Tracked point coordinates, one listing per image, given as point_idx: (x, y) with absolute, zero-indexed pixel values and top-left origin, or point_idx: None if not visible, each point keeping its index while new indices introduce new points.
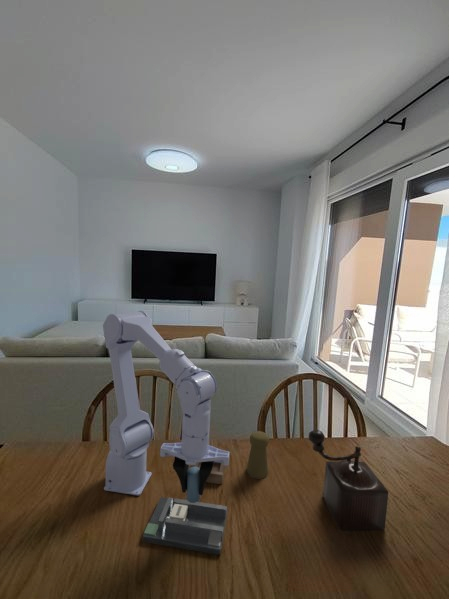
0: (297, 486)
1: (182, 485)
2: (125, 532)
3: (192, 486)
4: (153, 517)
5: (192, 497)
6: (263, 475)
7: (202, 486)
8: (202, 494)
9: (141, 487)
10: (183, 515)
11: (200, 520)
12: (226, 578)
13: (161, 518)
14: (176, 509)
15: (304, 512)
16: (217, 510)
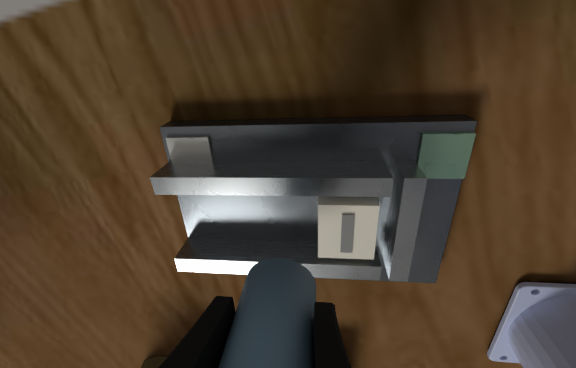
0: (62, 342)
1: (333, 346)
2: (549, 138)
3: (259, 344)
4: (446, 205)
5: (270, 280)
6: (145, 365)
7: (181, 350)
8: (214, 300)
9: (518, 309)
10: (321, 216)
11: (265, 218)
12: (120, 44)
13: (415, 190)
14: (359, 237)
15: (16, 281)
16: (207, 254)
